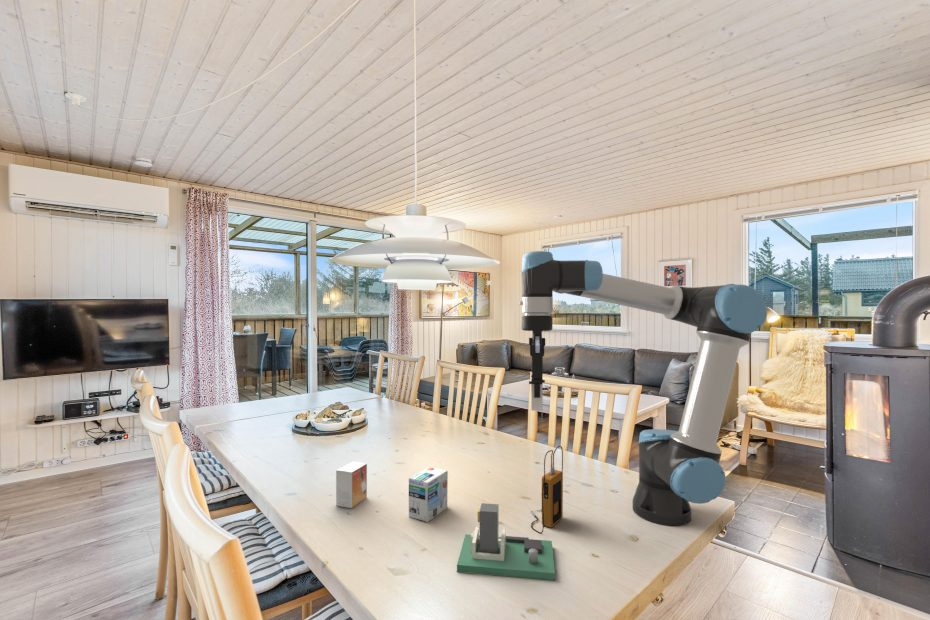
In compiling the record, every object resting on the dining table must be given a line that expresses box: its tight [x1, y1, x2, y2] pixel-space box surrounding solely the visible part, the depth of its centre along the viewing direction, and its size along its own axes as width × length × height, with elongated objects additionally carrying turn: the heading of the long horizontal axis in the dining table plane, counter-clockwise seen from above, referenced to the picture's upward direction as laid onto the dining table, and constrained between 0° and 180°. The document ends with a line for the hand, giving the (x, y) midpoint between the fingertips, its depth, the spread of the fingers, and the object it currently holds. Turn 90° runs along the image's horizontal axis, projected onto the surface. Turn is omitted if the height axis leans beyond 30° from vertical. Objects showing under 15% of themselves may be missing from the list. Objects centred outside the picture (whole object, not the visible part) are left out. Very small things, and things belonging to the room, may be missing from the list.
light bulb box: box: [408, 466, 449, 523], centre depth 123 cm, size 11×7×11 cm, turn 151°
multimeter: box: [529, 445, 564, 534], centre depth 119 cm, size 15×10×20 cm
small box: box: [335, 461, 368, 509], centre depth 130 cm, size 8×6×10 cm
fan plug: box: [477, 502, 500, 554], centre depth 101 cm, size 5×4×10 cm
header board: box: [456, 526, 556, 581], centre depth 100 cm, size 21×13×5 cm, turn 82°
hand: (536, 409), depth 108 cm, fingers closed
